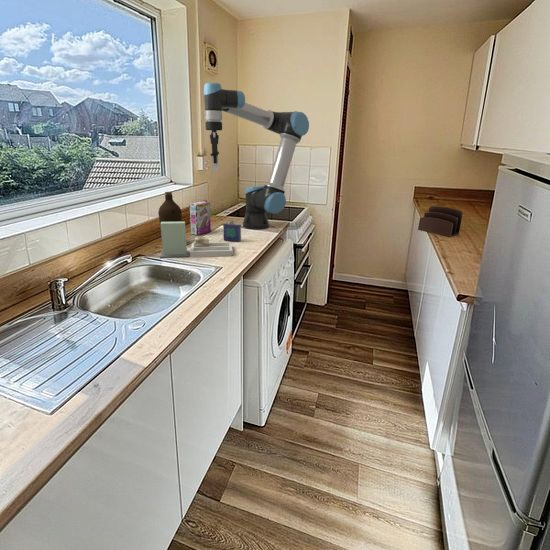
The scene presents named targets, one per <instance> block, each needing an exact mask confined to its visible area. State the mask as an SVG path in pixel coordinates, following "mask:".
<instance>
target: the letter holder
mask: <svg viewBox="0 0 550 550" xmlns="http://www.w3.org/2000/svg"><path fill="white" fill-rule="evenodd" d="M463 215H464V213H463V211H461V210H459V209H456V208H451V207H449V206H448V207H446V206H441V205H431V206H429V207H428V211H426V212H424V214H423V216H421V217H420V218H419V220H418V221H419V222H418V227H417V230H418V231H421V232H426V233H430V234H434V235H440V236H444V237H448V238H452V237H455V236H458V235H459V234H460V229H461V225H462V218H463Z"/></svg>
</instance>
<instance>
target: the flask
mask: <svg viewBox="0 0 550 550" xmlns="http://www.w3.org/2000/svg"><path fill="white" fill-rule="evenodd" d="M222 224H223V225H222V226H223V228H222V229H223V242H231V243H232V242H233V243H240V242H242V233H241V232H242V229H241V228H242V225H241V223H234V220H233V219H230V220H229V221H226V222H223V223H222Z"/></svg>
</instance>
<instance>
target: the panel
mask: <svg viewBox="0 0 550 550" xmlns="http://www.w3.org/2000/svg"><path fill="white" fill-rule="evenodd" d="M159 225H160V226H161V228H160V236H161V243H162V244H161V245H162V251H163V255H178V254H187V251H188V247H187V246H188V245H187V232H186V221H182V222H161V223H160V222H159Z"/></svg>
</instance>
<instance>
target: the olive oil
mask: <svg viewBox="0 0 550 550" xmlns="http://www.w3.org/2000/svg"><path fill="white" fill-rule="evenodd" d="M173 197H174V196H173V192H172V191H165V192H164V199H165V200H163V203H162V204H161V205H160V206H159V208H158V219H159V224H160V223H161V222H183V214H182V213H183V212H182V209H181V207H180V205H179V204H178V203H176V202H175V201H174V198H173ZM159 228H160V229H161V226H160V227H159Z"/></svg>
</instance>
